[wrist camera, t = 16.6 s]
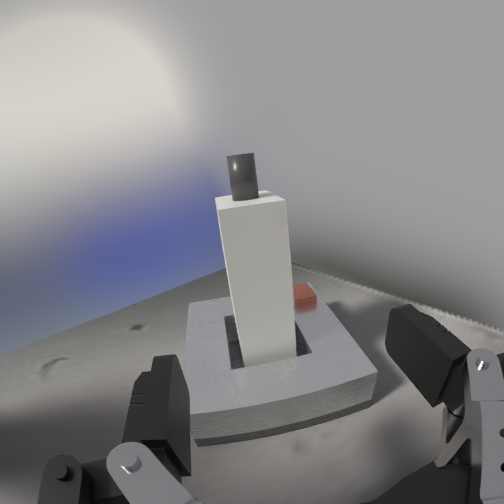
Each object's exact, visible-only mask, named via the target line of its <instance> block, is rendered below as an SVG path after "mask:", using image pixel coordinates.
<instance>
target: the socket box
mask: <svg viewBox="0 0 504 504" xmlns="http://www.w3.org/2000/svg"><path fill="white" fill-rule="evenodd" d="M293 300H294V317H295V336H296V357H293V358H289V359H285V360H280V361H275V362H270V363H266V364H260V365H255V366H250V367H244V363H243V358H242V353H241V349H240V344H239V338H238V333H237V327H236V322H235V316H234V311H233V305H232V300H231V297H225V298H219V299H213V300H206V301H200V302H194V303H189V309H188V320H187V332H186V345H185V359H184V377H185V380H186V383H187V386H188V389H189V395H190V433H191V435H192V436H193V438H194V440H195V442H196V444H197V446H206V445H215V444H224V443H231V442H238V441H244V440H250V439H256V438H261V437H267V436H272V435H276V434H281V433H285V432H290V431H294V430H298V429H302V428H306V427H309V426H313V425H316V424H320V423H323V422H327V421H330V420H333V419H336V418H339V417H343V416H346V415H348V414H351V413H354V412H357V411H360V410H363V409H365V408H368V407H370V404H371V400H372V396H373V392H374V387H375V383H376V379H377V374H378V371H377V369H376V368H375V367H374V365H373V364H372V363H371V361H370V360H369V359H368V357H367V356H366V355H365V353H364V352H363V351H362V349H361V348H360V347H359V345H358V344H357V343H356V342H355V340H354V339H353V338H352V336H351V335H350V334H349V332H348V331H347V330H346V329H345V327H344V326H343V325H342V323H341V322H340V321H339V320H338V318H337V317H336V316H335V314H334V313H333V312H332V311H331V309H330V308H329V307H328V306H327V304H326V303H325V302H324V300H323V299H322V298H321V297H320V295H319V294H318V293H317V292H316V290H315V289H314V288H313V287H312V285H311V284H310V283H309V282H306V283H301V284H296V285H293Z"/></svg>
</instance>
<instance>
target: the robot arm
mask: <svg viewBox="0 0 504 504" xmlns="http://www.w3.org/2000/svg"><path fill="white" fill-rule="evenodd" d="M385 346H386V350H387V352H388V354H389V356H390V357H391V358H392V359H393V360H394V362H395V363H396V364H397V365H398V366H399V367H400V369H401V370H402V371H403V372H404V373H405V375H406V376H407V377H408V378H409V379H410V381H411V382H412V383H413V384H414V385H415V387H416V388H417V389H418V390H419V391H420V393H421V394H422V395H423V396H424V398H425V399H426V400H427V401H428V402H429V404H430V405H431V406H432V407H435V406H437V405H438V404H440V403H442V402H444V403H445V407H444V409H443V425H442V439H441V449H440V453H439V455H438V458H437V460H436V462H435V463H434V461H433V462H431V463H430V464H428V465H426V466H424V467H423V468H421V469H419V470H417V471H416V472H414V473H412V474H410V475H408V476H406V477H404V478H403V479H402V480H401V481H399V482H398V483H397V484H396V485H394V486H393V487H392V488H391V489H389V490H388V491H387V492H385V493H384V494H383V495H381V496H380V497H379V498H377V499H376V500H374V501H371V502H367V503H361V504H504V353H501V354H498V355H496V354H494V353H493V352H492V351H490V350H487V349H483V348H477V349H474V350H471V349H470V348H469V347H467V346H466V345H465V344H464V343H463V342H462V341H460V340H459V339H458V338H457V337H456V336H455V335H453V334H452V333H451V332H450V331H447V329H446V328H445V327H444V326H443V325H442V326H441V324H440V323H439V322H438V321H437V320H435V319H434V318H433V317H431V316H429V315H426V314H424V313H422V312H419V311H418V310H417V309H416V308H414V307H413V306H412V305H410V304H406V305H403V306H400V307H397V308H394V309H392V310H391V311H390V314H389V321H388V327H387V333H386V339H385ZM181 476H191V452H190V395H189V389H188V386H187V383H186V380H185V377H184V375H183V372H182V369H181V366H180V364H179V361H178V358H177V356H176V355H175V354H173V355H164V356H155V357H154V358H153V363H152V368H151V371H148V372H142V373H141V375H140V376H139V377H138V379H137V380H136V381H135V383H134V387H133V391H132V396H131V401H130V406H129V410H128V415H127V420H126V425H125V430H124V435H123V440H122V444H120V445H118V446H116V447H115V448H114V449H112V451H111V452H110V453H109V455H108V457H107V458H106V459H103V460H99V461H94V462H89V463H84V464H80V463H79V462H78V461H77V460H76V459H75V458H73V457H71V456H68V455H59V456H56V457H54V458H53V459H51V460H50V461H49V462H48V463H47V465H46V467H45V470H44V474H43V478H42V483H41V488H40V493H39V498H38V504H202V503H201V502H200V501H198V500H197V499H196V498H194V497H193V496H192V495H191V494H190V493H189V492H188V491H187V490H186V489H185V488H184V487H183V486H182V485H181Z"/></svg>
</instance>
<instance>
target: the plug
mask: <svg viewBox="0 0 504 504" xmlns="http://www.w3.org/2000/svg"><path fill="white" fill-rule="evenodd" d="M227 162H228V170H229V177H230V185H231V193H232V195H230V196H224V197H217V198H215V201H216V208H217V214H218V221H219V227H220V233H221V239H222V246H223V252H224V258H225V265H226V271H227V276H228V282H229V288H230V294H231V300H232V305H233V311H234V316H235V322H236V327H237V333H238V338H239V344H240V349H241V353H242V358H243V363H244V367H250V366H255V365H260V364H266V363H270V362H275V361H280V360H285V359H289V358H293V357H296V336H295V317H294V300H293V285H292V271H291V258H290V246H289V233H288V223H287V212H286V202H285V200H284V199H282V198H280V197H278V196H277V195H275V194H273V193H270V192H269V191H267V190H264V191H258V184H257V176H256V168H255V160H254V153H250V154H241V155H234V156H227Z"/></svg>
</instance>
